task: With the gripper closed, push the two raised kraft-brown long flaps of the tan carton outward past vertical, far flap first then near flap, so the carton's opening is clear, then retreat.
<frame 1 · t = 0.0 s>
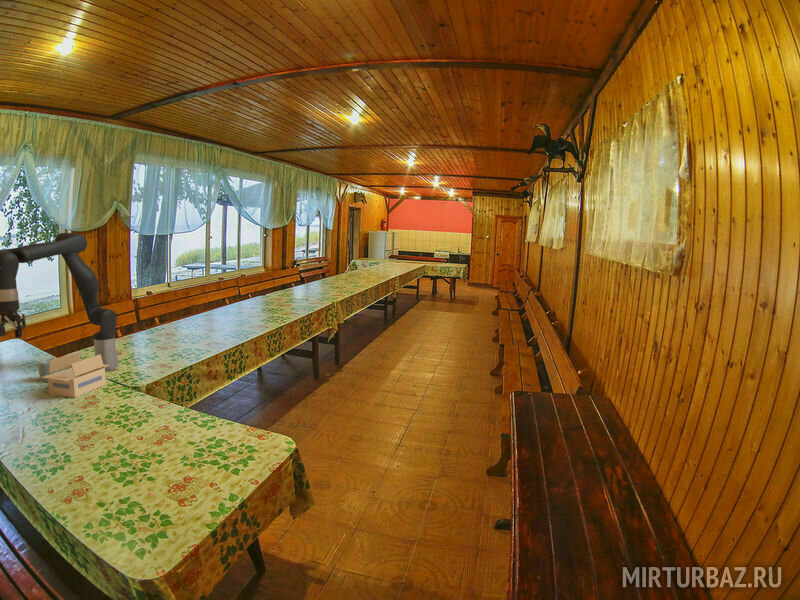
hand: (10, 336, 175), 29 cm above the table, fingers open, 8 cm apart
cup: (50, 380, 204), on the table
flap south: (65, 361, 195), point 13 cm above the table, hinge at 78.0°
carton: (78, 389, 196), on the table
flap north: (87, 365, 192), point 13 cm above the table, hinge at 78.0°
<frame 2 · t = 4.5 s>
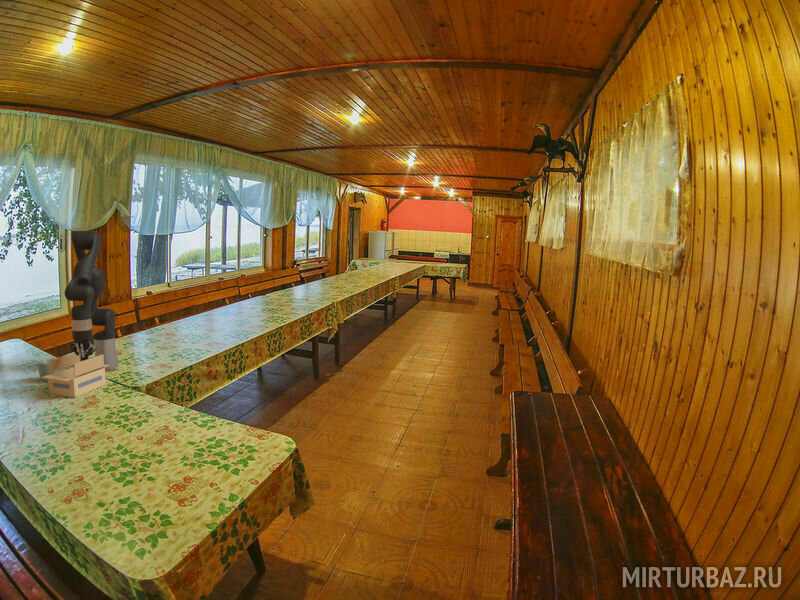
hand: (84, 364, 193), 13 cm above the table, fingers closed
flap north: (89, 365, 192), point 13 cm above the table, hinge at 91.7°, touching gripper
everything else where it was.
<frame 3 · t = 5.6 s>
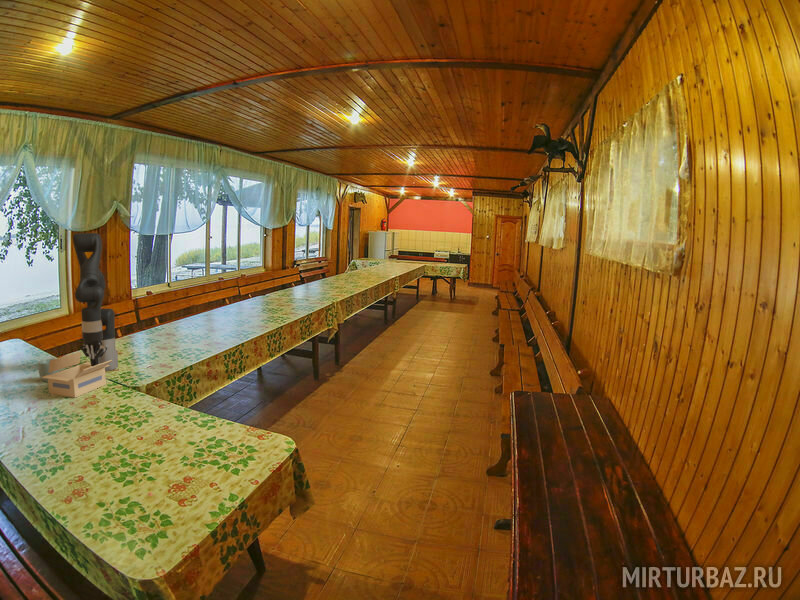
hand: (94, 365, 192), 13 cm above the table, fingers closed
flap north: (94, 368, 192), point 12 cm above the table, hinge at 140.2°, touching gripper
everything else where it was.
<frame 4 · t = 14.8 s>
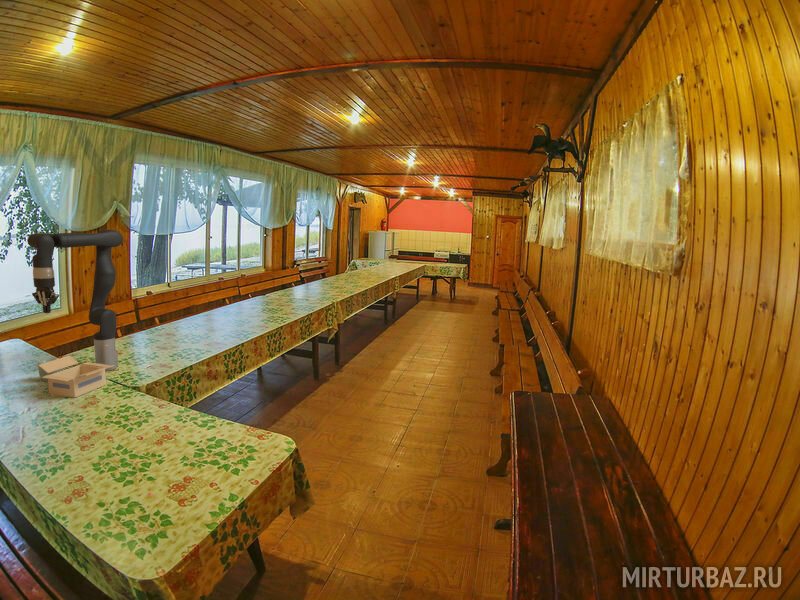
hand: (47, 312, 196), 35 cm above the table, fingers closed
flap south: (59, 364, 195), point 11 cm above the table, hinge at 147.7°
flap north: (95, 371, 192), point 11 cm above the table, hinge at 164.1°
everything else where it was.
at the end: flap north at +164° (first picture: +78°); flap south at +148° (first picture: +78°) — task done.
